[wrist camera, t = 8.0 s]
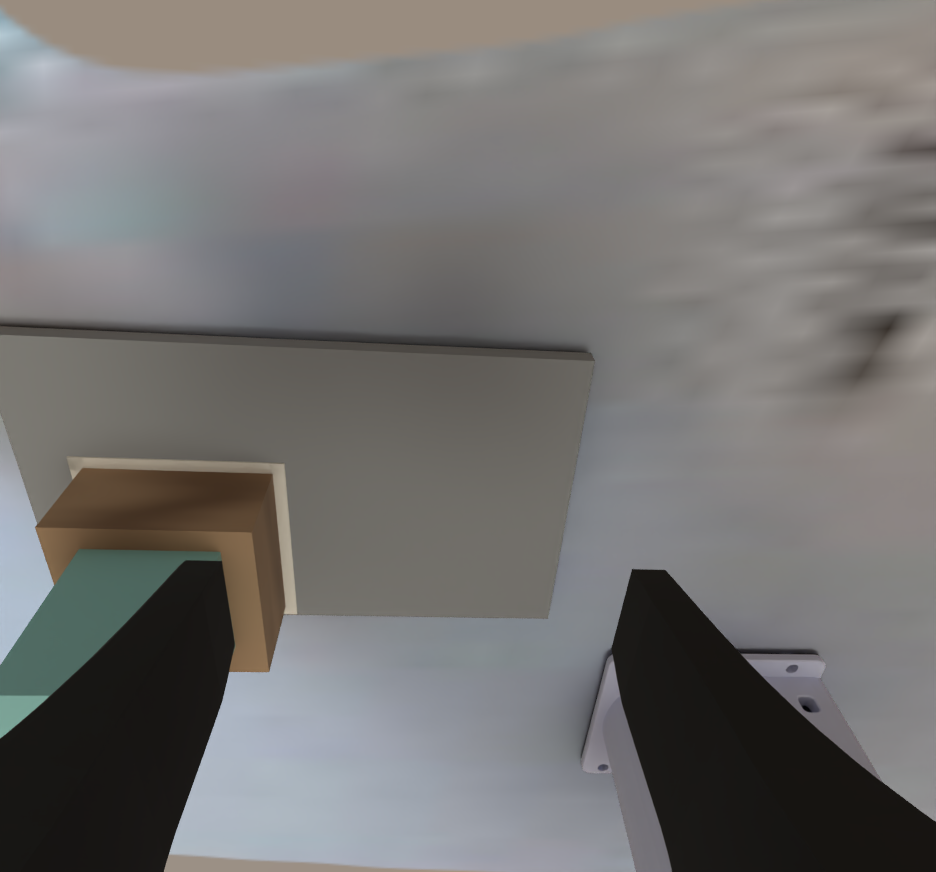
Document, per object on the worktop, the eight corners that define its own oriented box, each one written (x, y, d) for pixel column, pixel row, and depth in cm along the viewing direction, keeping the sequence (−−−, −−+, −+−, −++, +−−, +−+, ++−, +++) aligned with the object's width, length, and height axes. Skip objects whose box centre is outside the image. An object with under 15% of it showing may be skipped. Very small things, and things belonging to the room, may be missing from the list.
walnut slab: (272, 473, 22) (251, 532, 19) (285, 606, 25) (269, 672, 23) (82, 468, 22) (35, 527, 19) (119, 603, 25) (83, 670, 22)
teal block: (220, 551, 20) (162, 696, 15) (235, 645, 22) (187, 796, 18) (79, 549, 19) (-21, 695, 15) (107, 644, 22) (28, 797, 17)
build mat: (590, 352, 21) (595, 362, 20) (545, 607, 27) (548, 619, 26) (-14, 325, 20) (-27, 334, 19) (73, 599, 25) (65, 612, 25)
